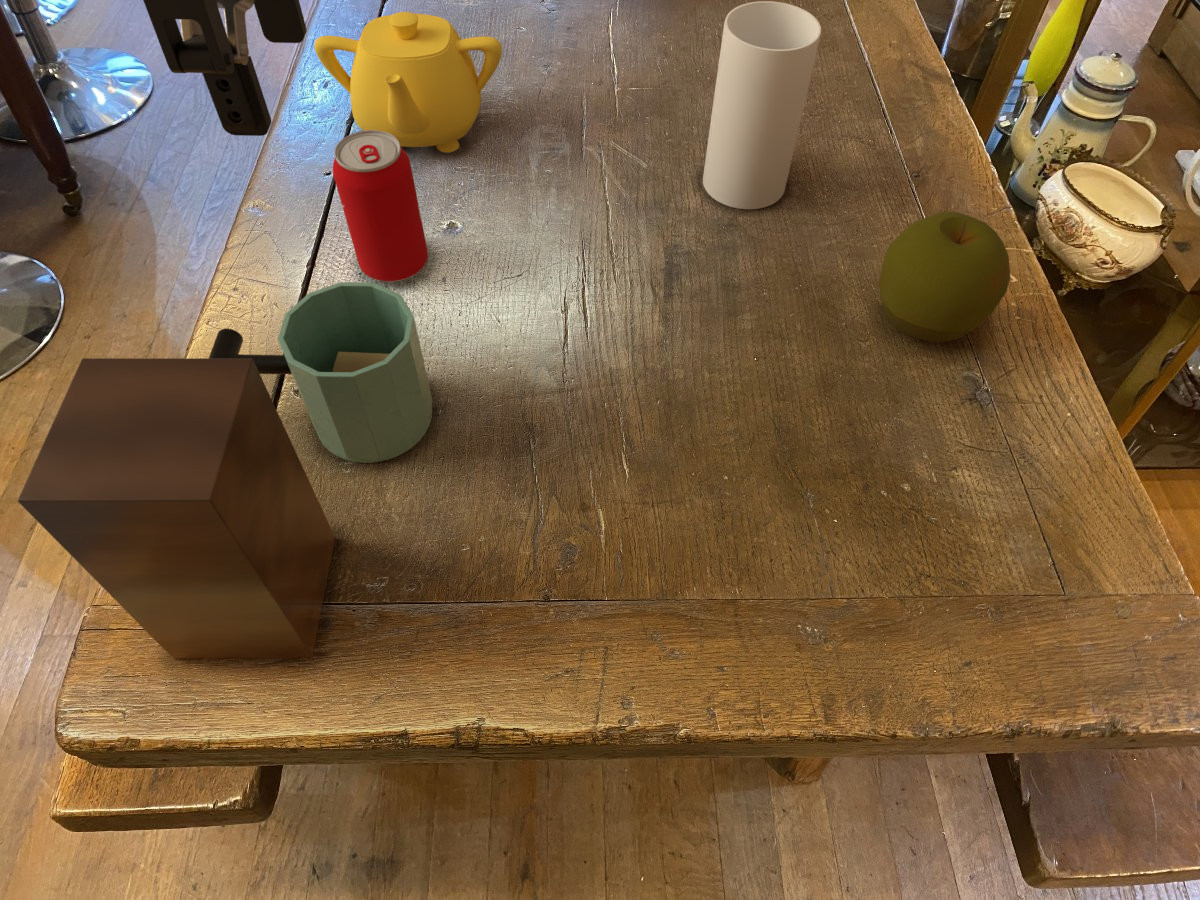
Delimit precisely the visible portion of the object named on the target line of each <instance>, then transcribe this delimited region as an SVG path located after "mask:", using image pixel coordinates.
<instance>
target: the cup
mask: <svg viewBox="0 0 1200 900" xmlns="http://www.w3.org/2000/svg"><path fill="white" fill-rule="evenodd" d="M722 29H723V31H722V38H721V43H720V44H721V45H720V52H719V58H718V60H719V61H718V66H717V73H716V81H715V87H714V96H713V103H712V110H711V117H710V123H709V131H708V136H707V137H708V138H707V144H706V145H707V146H706V152H705V161H704V168H703V173H702V174H703V175H702V185H703V188H704V190H705V192H706V193H707V194H708V195H709V197H711V198H712V199H713V200H714V201H716V202H718V203H720V204H722V205H725V206H727V207H730V208H734V209H740V210H759V209H763V208H766V207H770V206H772V205H774V204H775V203H777V202H778V201H780V199H781V198H782V197H783V196H784V193H785V191H786V186H787V182H788V178H789V173H790V169H791V166H792V165H791V164H792V160H793V155H794V152H795V147H796V144H797V140H798V139H797V138H798V134H799V130H800V126H801V122H802V117H803V114H804V109H805V105H806V100H807V96H808V92H809V87H810V83H811V80H812V75H813V69H814V66H815V60H816V57H817V54H818V53H817V52H818V49H819V43H820V40H821V34H822V26H821V24H820V22H819V20H818V19H817V18H816V17H815V15H813V14H811V13H810V12H809V11H807V10H805V9H803V8H801V7H799V6H796V5H793V4H790V3H785V2H780V1H774V0H773V1H771V0H763V1H762V0H760V1H752V2H746V3H743V4H741V5H738V6H736V7H733V8H732V9H731V10H730V11H729V12H728V13H727V15H726V17H725V18H724V23H723V28H722Z"/></svg>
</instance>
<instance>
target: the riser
mask: <svg viewBox="0 0 1200 900" xmlns="http://www.w3.org/2000/svg"><path fill="white" fill-rule="evenodd" d="M54 417H55V418H54V420H53V422H52V424H51V426H50V428H49V430H48V433H47V435H46V436H45V438H44V441H43V443H42V446H41V448H40V450H39V452H38V454H37V457H36V459H35V461H34V463H33V465H32V468H31V470H30V472H29V474H28V477H27V479H26V480H25V483H24V485H23V487H22V490H21V492H20V493H19V496H18V498H17V502H18V503H19V504H20V505H21V506H22V507H23V508H24V509H25V510H26V511H27V512H28V514H30V516H31V517H32V518H34V520H35V521H36V522H37V523H39V524H40V526H41V527H42V528H43V529H44V530H45V531H46V532H47V533H48V534H49V535H50V536H51V537H52V538H53V539H54V540H55V541H56V542H57V543H58V544H59V545H60V546H61V547H62V548H63V549H64V550H65V551H66V552H67V553H68V554H69V555H70V556H71V557H72V558H73V559H74V560H75V561H76V562H77V563H78V564H79V565H80V566H81V567H82V568H83V569H84V570H85V571H86V572H87V573H88V574H89V575H90V576H91V577H92V578H93V579H94V580H95V581H96V582H97V583H98V584H99V585H100V587H102V588H103V590H105V592H107V593H108V595H110V596H111V597H112V598H113V599H114V600H115V602H117V604H119V605H120V607H122V609H123V610H124V611H125V612H127V614H129V615H130V617H131V618H132V619H134V621H135V622H136V623H138V625H140V627H141V628H142V629H143V630H144V631H145V632H147V634H148V635H149V636H150V638H152V639H153V640H154V641H155V642H156V643H157V644H158V645H159V646H160V647H161V648H162V649H163V650H164V651H165V652H166V653H167V654H168V655H169V656H170V657H171V658H172V659H174V660H175V659H177V660H178V659H179V660H180V659H182V660H183V659H185V660H186V659H286V658H287V659H294V658H296V659H297V658H298V659H299V658H301V659H303V658H304V659H306V658H311V659H312V658H313V657H314V652H315V648H316V641H317V636H318V631H319V625H320V621H321V615H322V611H323V606H324V605H323V604H324V600H325V595H326V590H327V584H328V579H329V573H330V568H331V563H332V557H333V554H334V548H335V543H336V536H335V534H334V532H333V530H332V527H331V525H330V523H329V521H328V518H327V517H326V514H325V512H324V509H323V507H322V506H321V504H320V502H319V500H318V497H317V495H316V493H315V490H314V489H313V487H312V484H311V482H310V480H309V478H308V476H307V473H306V471H305V468H304V467H303V464H302V462H301V460H300V458H299V456H298V454H297V452H296V450H295V447H294V445H293V443H292V441H291V439H290V437H289V436H290V435H288V432H287V430H286V428H285V425H284V423H283V421H282V418H281V417H280V415H279V413H278V410H277V408H276V406H275V403H274V402H273V400H272V398H271V395H270V393H269V391H268V388H267V386H266V383H264V380H263V378H262V376H261V374H259V371H258V369H257V367H256V365H255V363H254V360H253V359H214V358H209V357H207V358H206V357H205V358H201V357H200V358H199V357H198V358H197V357H196V358H189V357H188V358H185V357H183V358H179V357H178V358H171V357H170V358H169V357H167V358H165V357H163V358H162V357H161V358H158V357H157V358H154V357H153V358H152V357H151V358H146V357H145V358H141V357H140V358H137V357H135V358H128V357H127V358H122V357H121V358H120V357H119V358H116V357H115V358H112V357H110V358H103V357H98V358H94V357H92V358H91V357H89V358H87V357H86V358H85V357H84V358H81V360H80V362H79V363H78V366H77V369H76V371H75V374H74V375H73V378H72V380H71V382H70V384H69V386H68V389H67V391H66V393H65V395H64V397H63V399H62V402H61V404H60V406H59V408H58V410H57V413H56V415H55V416H54Z"/></svg>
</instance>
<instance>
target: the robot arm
mask: <svg viewBox="0 0 1200 900" xmlns="http://www.w3.org/2000/svg"><path fill="white" fill-rule="evenodd" d="M142 1H143V4H144V6H145V9H146V11H147V13H148V14H147V15H148V17H149V19H150V22H151V24H152V28H153V30H154V33H155V35H156V38H157V41H158V43H159V45H160V49H161V51H162V54H163V57H164V59H165V61H166V64H167V67H168V69H169V70H170V72H171V73H173V74H202V77H203V79H204V82H205V85H206V87H207V90H208V93H209V95H210V98H211V100H212V103H213V105H214V109H215V111H216V113H217V116H218V118H219V121H220V124H221V126H222V129H223V130H224V131H225V132H226V133H227V134H229V135H232V136H250V137H252V136H253V137H254V136H255V137H263V136H265V135H267V134H268V132H269V130H270V127H271V124H272V117H271V114H270V112H269V109H268V105H267V103H266V102H267V101H266V99H265V95H264V93H263V90H262V86H261V84H260V81H259V78H258V74H257V72H256V69H255V66H254V62H253V59H252V56H251V55H250V51H249V50H250V49H249V44H248V33H247V23H246V13H247V11H249V10H250V9H251V8H253V6H254V9H255V12H256V15H257V18H258V22H259V25H260V28H261V32H262V35H263V36H264V37H263V38H265V39H266V40H267V41H269V42H271V43H274V44H300V43H302V42H303V41H304V39H305V37H306V34H307V25H306V21H305V18H304V14H303V11H302V10H303V9H302V7H301V4H300V3H301V2H300V0H142ZM219 9H223V15H224V16H223V17H224V22H223V19H222V15H221V11H220V10H219ZM177 20H179V23H180V28H179V25H178V22H177Z"/></svg>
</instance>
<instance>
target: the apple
mask: <svg viewBox="0 0 1200 900" xmlns="http://www.w3.org/2000/svg"><path fill="white" fill-rule="evenodd" d="M1010 268H1011V267H1010V256H1009V253H1008V251H1007V249H1006V246H1005V243H1004V241H1003V240H1002V238H1001V237H1000V236H999V234H998V233H997V231H996V230H995V229H993V228H992V226H990V225H989V224H987V222H985V221H982V220H980V219H978V218H975V217H973V216H971V215H967V214H964V213H961V212H957V211H956V212H955V211H947V210H945V211H941V212H938V213H936V214H933V215H930V216H926V217H924V218H921V219H917V220H915V221H914V222H912V223H911V224H909V226H907V227H906V228H905V229H903V230H902V231H901V233H899V234H898V235H897V236H896V237H895V239H894V240H892V242H890V243H889V245H888V248H887V251H886V252H885V255H884V258H883V261H882V266H881V270H880V274H879V279H878V281H877V282H878V283H877V285H878V291H879V297H880V302H881V307H882V311H883V315H884V318H885V320H887V322H889V323H890V324H891V325H892V326H893V327H894V328H895V329H896V330H898V331H900V332H901V333H904V334H906V335H908V336H910V337H912V338H915V339H919V340H922V341H926V342H931V343H932V342H933V343H934V342H935V343H938V342H939V343H946V342H949V341H950V342H951V341H953V340H954V341H955V340H957V339H960V338H962V337H963V336H965V335H967V334H968V333H970V332H972V331H973V330H975V329H977V328H978V327H980V326H981V325H982V324H983V323H984V322H985V321H987V319H988V318H989V317H990V316H991V315H992V314H993V313H994V311H995V310H996V308H997V307H998V305H999V304H1000V302H1001V301H1002V299H1003V297H1004V296H1005V295H1006V294H1007V292H1008V288H1009V283H1010V278H1011V269H1010Z"/></svg>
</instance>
